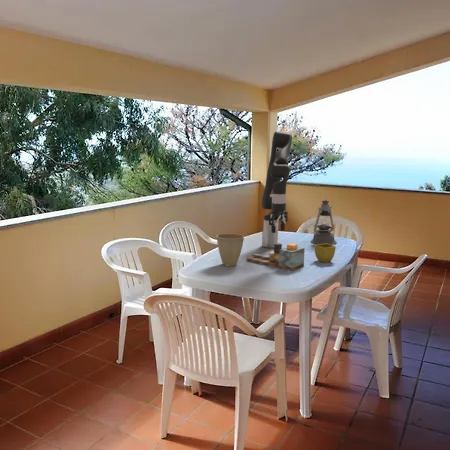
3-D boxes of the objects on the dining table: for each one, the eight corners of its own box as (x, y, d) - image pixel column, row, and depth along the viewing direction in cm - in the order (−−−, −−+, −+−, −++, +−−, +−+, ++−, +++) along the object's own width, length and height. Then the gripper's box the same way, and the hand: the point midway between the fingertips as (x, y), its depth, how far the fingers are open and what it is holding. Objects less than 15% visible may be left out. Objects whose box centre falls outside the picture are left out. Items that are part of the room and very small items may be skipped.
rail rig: (246, 260, 260) (246, 243, 258) (259, 256, 269) (259, 240, 267) (291, 270, 241) (292, 252, 239) (303, 266, 250) (304, 248, 248)
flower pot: (323, 263, 255) (323, 247, 253) (313, 260, 262) (313, 244, 261) (335, 261, 259) (336, 246, 257) (325, 258, 266) (326, 243, 265)
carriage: (269, 260, 253) (269, 243, 252) (275, 258, 258) (275, 242, 256) (279, 263, 249) (280, 245, 247) (285, 260, 253) (286, 243, 252)
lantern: (313, 237, 323) (315, 195, 318) (341, 241, 311) (343, 197, 306) (302, 242, 309) (303, 197, 303) (330, 246, 297) (332, 200, 292)
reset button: (286, 250, 246) (287, 244, 245) (290, 248, 249) (291, 243, 248) (293, 251, 243) (293, 245, 243) (297, 250, 246) (297, 244, 246)
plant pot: (238, 269, 243) (238, 239, 240) (212, 266, 248) (212, 237, 245) (247, 262, 257) (247, 234, 254) (222, 259, 262) (222, 232, 259)
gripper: (280, 200, 255) (279, 228, 258) (265, 202, 244) (264, 232, 247) (292, 201, 250) (291, 230, 253) (277, 204, 239) (276, 234, 243)
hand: (278, 231), depth 250 cm, fingers open, 8 cm apart
